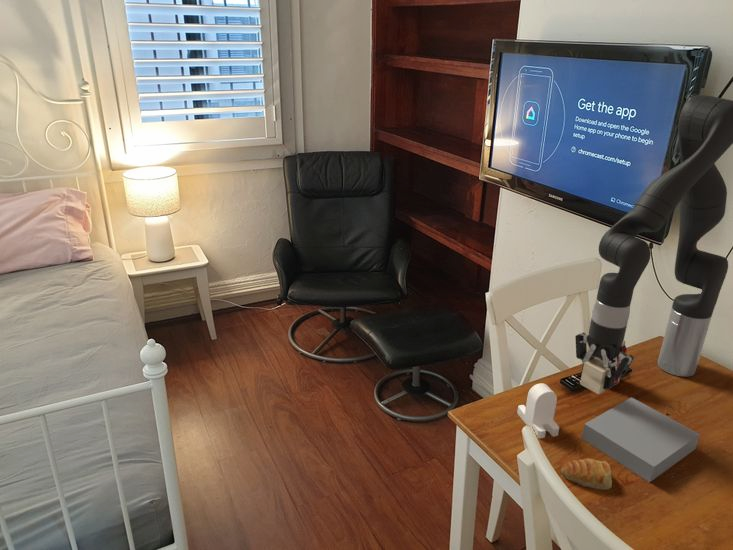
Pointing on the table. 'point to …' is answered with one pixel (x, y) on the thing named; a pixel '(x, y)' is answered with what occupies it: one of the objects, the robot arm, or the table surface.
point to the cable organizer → (540, 410)
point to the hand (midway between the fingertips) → (596, 382)
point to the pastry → (588, 473)
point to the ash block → (594, 375)
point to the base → (640, 438)
